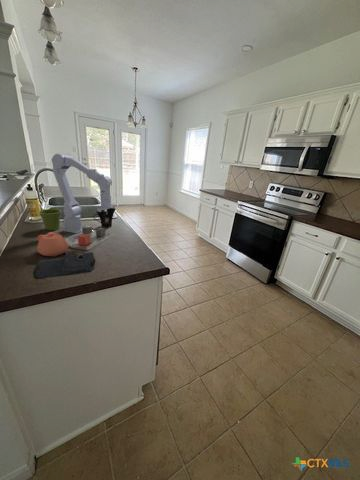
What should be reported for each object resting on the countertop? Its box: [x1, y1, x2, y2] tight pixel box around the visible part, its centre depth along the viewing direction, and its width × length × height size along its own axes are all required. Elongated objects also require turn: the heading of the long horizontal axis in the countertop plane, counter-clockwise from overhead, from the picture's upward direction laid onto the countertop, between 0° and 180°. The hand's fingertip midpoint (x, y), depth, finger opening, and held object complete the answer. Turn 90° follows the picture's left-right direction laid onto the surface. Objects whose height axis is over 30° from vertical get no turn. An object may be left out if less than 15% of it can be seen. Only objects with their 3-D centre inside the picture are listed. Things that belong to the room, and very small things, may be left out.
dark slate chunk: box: [34, 251, 96, 280], centre depth 84 cm, size 15×22×5 cm
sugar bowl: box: [37, 231, 69, 257], centre depth 94 cm, size 12×14×10 cm
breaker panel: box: [64, 229, 114, 252], centre depth 113 cm, size 18×24×2 cm
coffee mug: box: [92, 210, 113, 229], centre depth 137 cm, size 12×9×10 cm
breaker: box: [81, 225, 92, 234], centre depth 119 cm, size 3×4×4 cm
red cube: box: [78, 234, 90, 245], centre depth 104 cm, size 4×4×4 cm
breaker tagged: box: [95, 227, 106, 236], centre depth 117 cm, size 3×4×4 cm
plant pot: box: [37, 208, 62, 231], centre depth 124 cm, size 12×12×11 cm
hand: (106, 221), depth 121 cm, fingers open, 7 cm apart
